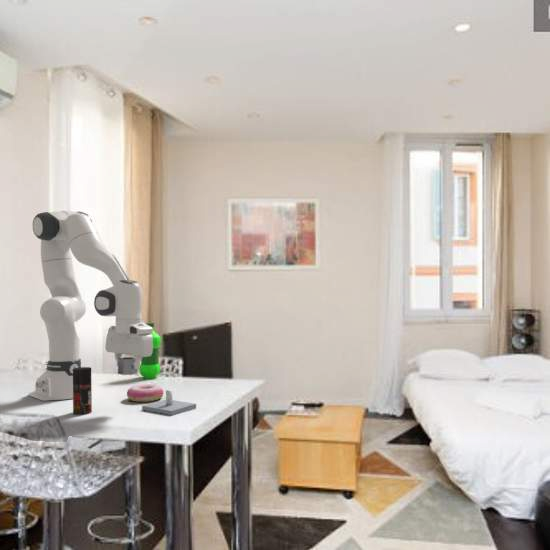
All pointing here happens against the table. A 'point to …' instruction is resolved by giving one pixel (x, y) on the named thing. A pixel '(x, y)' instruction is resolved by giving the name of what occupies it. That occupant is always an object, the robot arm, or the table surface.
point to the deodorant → (82, 391)
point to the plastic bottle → (151, 358)
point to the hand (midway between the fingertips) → (128, 367)
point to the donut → (145, 393)
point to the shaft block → (169, 405)
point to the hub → (126, 366)
